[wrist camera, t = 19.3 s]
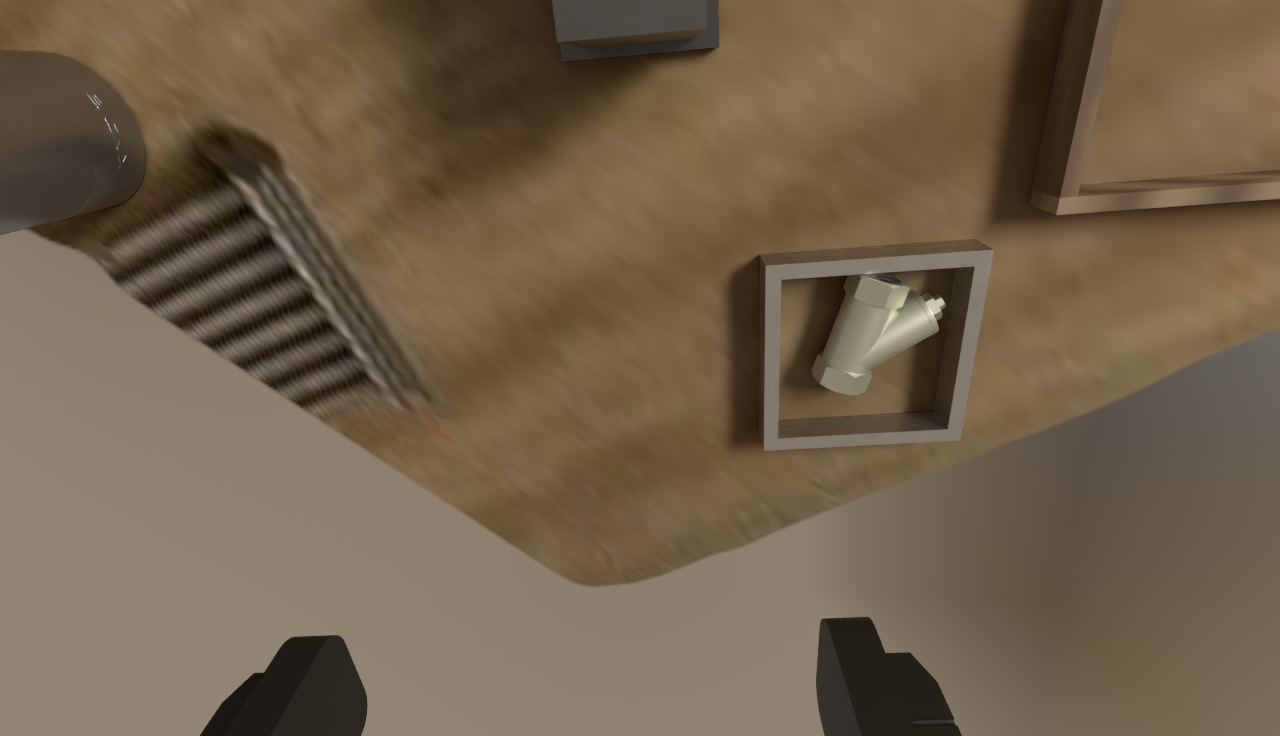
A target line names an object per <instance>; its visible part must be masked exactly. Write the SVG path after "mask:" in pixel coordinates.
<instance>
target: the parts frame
mask: <svg viewBox="0 0 1280 736" xmlns="http://www.w3.org/2000/svg"><path fill="white" fill-rule="evenodd" d="M993 253H994V249H992V248H990V247H988V246H987V245H985V244H983V243H981V242H979V241H977V240H976V239H972V240H958V241H944V242H930V243H916V244H903V245H889V246H875V247H861V248H847V249H833V250H819V251H805V252H791V253H777V254H763V255H760V296H759V435H760V439H761V442H762V446H763V450H764V451H770V450H789V449H807V448H826V447H845V446H863V445H882V444H901V443H919V442H938V441H957V440H960V438H961V433H962V427H963V421H964V416H965V410H966V404H967V399H968V393H969V388H970V382H971V376H972V371H973V365H974V360H975V354H976V348H977V343H978V337H979V332H980V326H981V320H982V315H983V309H984V303H985V298H986V292H987V287H988V281H989V275H990V270H991V264H992V259H993ZM944 268H955V273H954V280H953V287H952V293H951V300H950V306H949V313H948V320H947V326H946V333H945V339H944V346H943V353H942V359H941V366H940V372H939V379H938V386H937V392H936V399H935V405H934V411H933V412H916V413H898V414H880V415H862V416H845V417H827V418H809V419H791V420H778V411H779V366H780V320H781V280H785V279H800V278H814V277H829V276H843V275H858V274H872V273H886V272H901V271H915V270H930V269H944Z"/></svg>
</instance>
